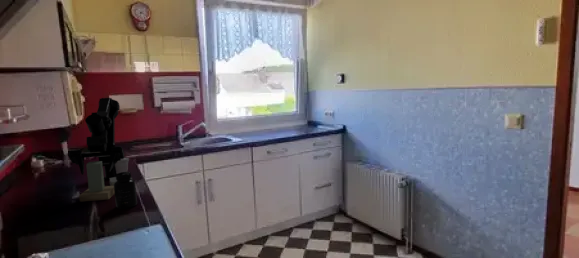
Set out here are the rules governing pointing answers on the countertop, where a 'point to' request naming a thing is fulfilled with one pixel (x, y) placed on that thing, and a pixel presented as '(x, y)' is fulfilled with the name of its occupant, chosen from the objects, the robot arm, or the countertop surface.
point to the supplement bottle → (125, 191)
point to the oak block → (97, 194)
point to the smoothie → (122, 165)
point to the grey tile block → (113, 181)
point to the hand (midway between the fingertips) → (95, 172)
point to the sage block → (95, 176)
